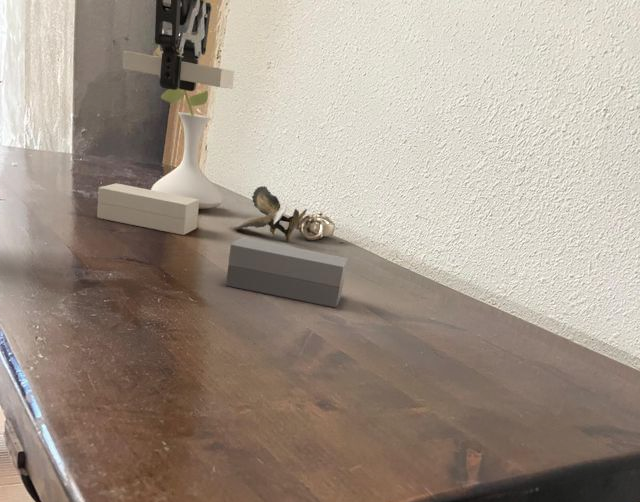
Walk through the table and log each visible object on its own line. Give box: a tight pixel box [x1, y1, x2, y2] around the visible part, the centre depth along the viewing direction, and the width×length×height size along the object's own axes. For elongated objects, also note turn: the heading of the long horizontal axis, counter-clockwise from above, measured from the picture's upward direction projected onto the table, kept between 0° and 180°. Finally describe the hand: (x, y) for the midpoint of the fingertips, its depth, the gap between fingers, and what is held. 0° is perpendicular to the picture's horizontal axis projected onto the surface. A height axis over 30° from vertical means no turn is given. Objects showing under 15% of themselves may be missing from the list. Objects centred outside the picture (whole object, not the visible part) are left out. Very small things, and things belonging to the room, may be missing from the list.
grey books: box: [225, 236, 349, 309], centre depth 80 cm, size 12×5×4 cm, turn 83°
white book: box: [122, 50, 235, 89], centre depth 91 cm, size 12×6×2 cm, turn 82°
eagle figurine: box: [233, 185, 308, 243], centre depth 108 cm, size 8×7×9 cm
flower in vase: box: [150, 41, 223, 210], centre depth 115 cm, size 13×11×25 cm
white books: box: [96, 182, 199, 236], centre depth 101 cm, size 12×6×4 cm, turn 83°
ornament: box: [294, 211, 336, 241], centre depth 113 cm, size 8×7×4 cm
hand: (178, 89), depth 92 cm, fingers closed on white book, 6 cm apart
